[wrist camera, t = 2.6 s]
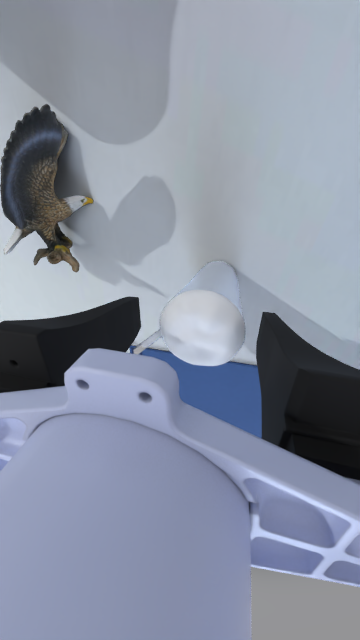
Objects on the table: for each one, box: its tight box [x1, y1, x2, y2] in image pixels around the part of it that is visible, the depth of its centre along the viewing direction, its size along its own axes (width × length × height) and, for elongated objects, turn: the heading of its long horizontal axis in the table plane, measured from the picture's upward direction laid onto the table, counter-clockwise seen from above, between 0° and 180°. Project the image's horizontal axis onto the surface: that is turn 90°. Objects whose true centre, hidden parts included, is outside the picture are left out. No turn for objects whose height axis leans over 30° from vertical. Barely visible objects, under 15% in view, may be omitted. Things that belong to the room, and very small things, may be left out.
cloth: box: [130, 346, 262, 439], centre depth 26 cm, size 20×14×1 cm
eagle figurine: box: [0, 104, 93, 272], centre depth 17 cm, size 8×7×9 cm
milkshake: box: [133, 261, 245, 366], centre depth 15 cm, size 4×5×10 cm
